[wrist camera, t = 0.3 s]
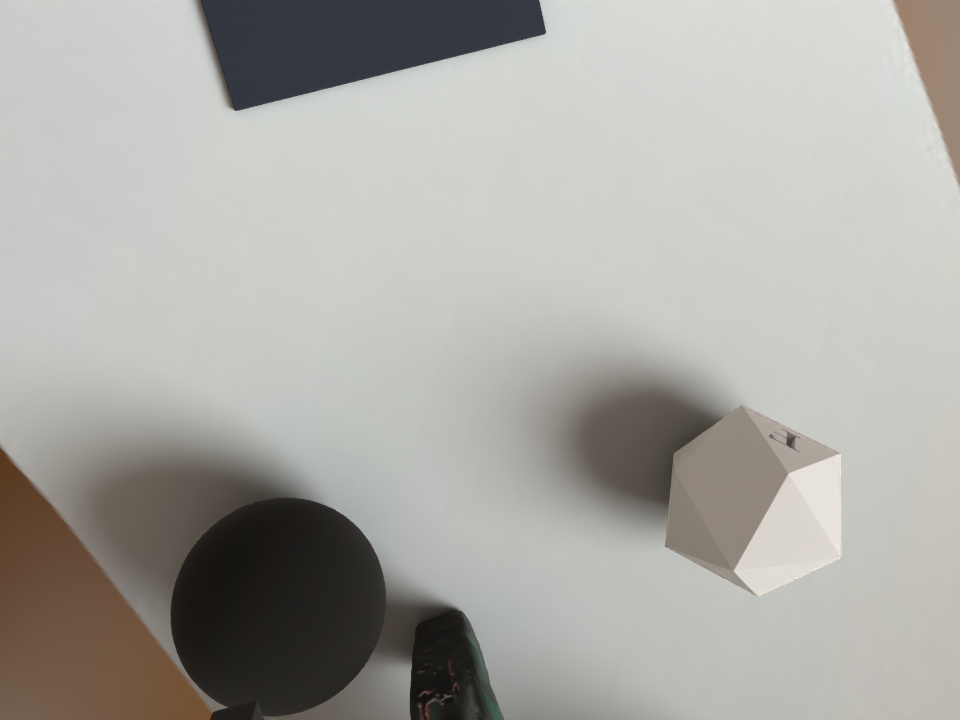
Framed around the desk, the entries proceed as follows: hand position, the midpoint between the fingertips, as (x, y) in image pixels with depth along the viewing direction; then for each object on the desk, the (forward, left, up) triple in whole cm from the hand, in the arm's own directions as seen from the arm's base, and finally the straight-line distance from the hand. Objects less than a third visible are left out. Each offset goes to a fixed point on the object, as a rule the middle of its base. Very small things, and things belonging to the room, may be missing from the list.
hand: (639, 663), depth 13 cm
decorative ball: (+8, -13, -28) cm, 32 cm away
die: (+10, +11, -28) cm, 32 cm away
